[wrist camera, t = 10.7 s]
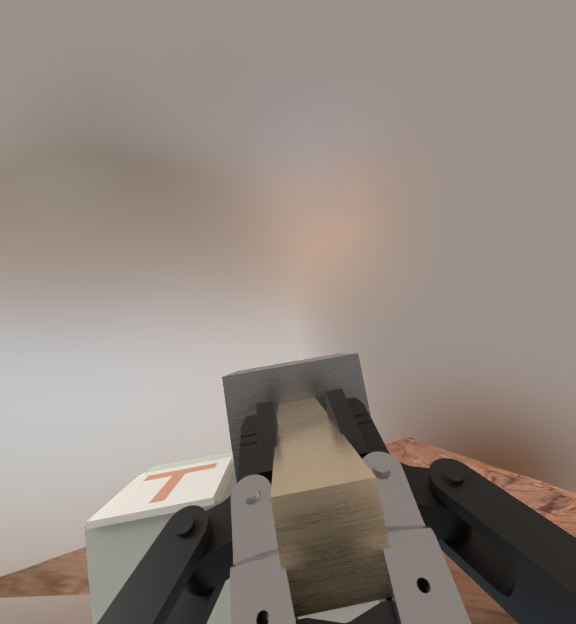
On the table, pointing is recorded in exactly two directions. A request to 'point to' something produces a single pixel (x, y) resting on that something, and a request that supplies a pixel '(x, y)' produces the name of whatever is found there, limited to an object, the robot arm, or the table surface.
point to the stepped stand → (151, 520)
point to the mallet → (316, 483)
